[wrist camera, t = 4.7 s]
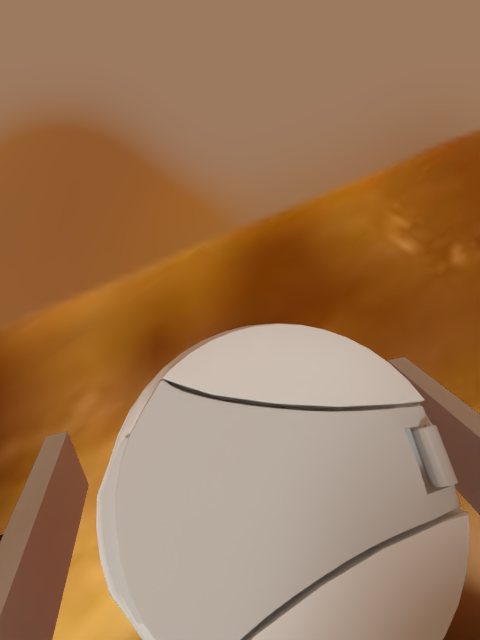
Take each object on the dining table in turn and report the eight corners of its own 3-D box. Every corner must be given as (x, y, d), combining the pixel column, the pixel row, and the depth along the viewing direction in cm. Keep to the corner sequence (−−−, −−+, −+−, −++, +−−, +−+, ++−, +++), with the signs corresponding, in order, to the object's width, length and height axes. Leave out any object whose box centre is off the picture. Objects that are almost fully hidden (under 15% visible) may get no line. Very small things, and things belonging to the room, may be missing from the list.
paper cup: (297, 394, 22) (408, 279, 9) (335, 542, 19) (582, 693, 6) (163, 420, 21) (68, 334, 8) (182, 580, 18) (81, 855, 5)
